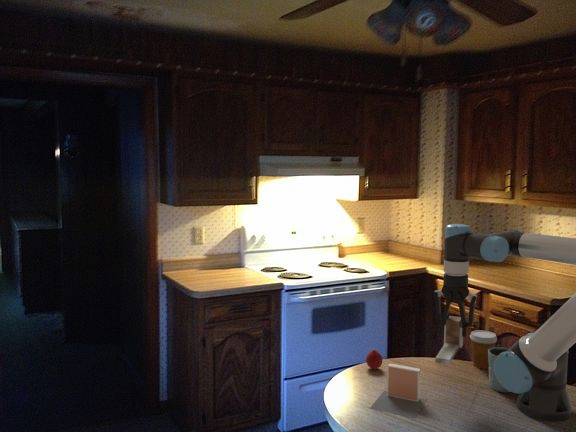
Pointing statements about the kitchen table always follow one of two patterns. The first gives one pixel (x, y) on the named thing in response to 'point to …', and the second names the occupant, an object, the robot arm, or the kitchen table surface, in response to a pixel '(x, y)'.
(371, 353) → the onion
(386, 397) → the mat
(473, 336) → the disposable coffee cup
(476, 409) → the kitchen table surface
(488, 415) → the kitchen table surface
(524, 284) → the kitchen table surface
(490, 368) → the grey-green hollow open cylinder
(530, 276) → the kitchen table surface
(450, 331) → the tan l-shaped piece
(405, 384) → the tile
